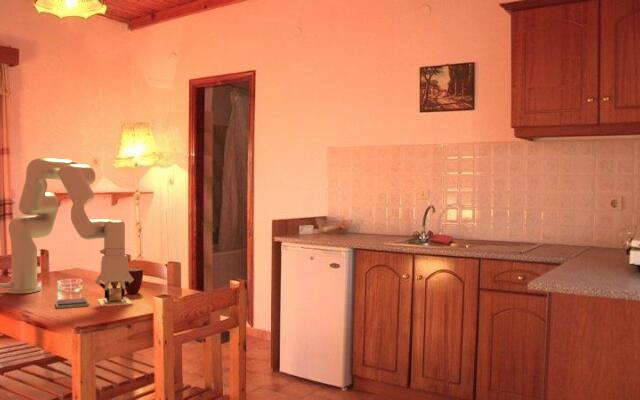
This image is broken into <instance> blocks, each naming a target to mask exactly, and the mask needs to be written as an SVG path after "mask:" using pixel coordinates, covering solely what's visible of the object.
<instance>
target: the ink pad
mask: <svg viewBox="0 0 640 400" xmlns="http://www.w3.org/2000/svg"><path fill="white" fill-rule="evenodd" d="M54 303H55V309H59V310H60V309H69V308H79V307H80V308H81V307H82V306H83V307H90V302H89V300H88V299H87V298H85V297H82V298H69V299H58V300H56V301H55V302H54ZM83 307H82V308H83Z"/></svg>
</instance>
